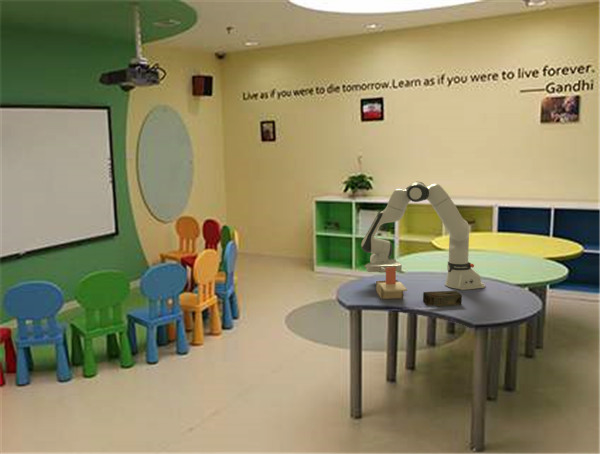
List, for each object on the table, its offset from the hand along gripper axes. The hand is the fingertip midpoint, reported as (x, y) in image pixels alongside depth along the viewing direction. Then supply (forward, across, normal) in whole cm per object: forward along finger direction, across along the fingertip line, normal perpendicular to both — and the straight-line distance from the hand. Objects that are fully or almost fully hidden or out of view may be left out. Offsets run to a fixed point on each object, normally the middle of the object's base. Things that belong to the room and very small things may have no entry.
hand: (386, 270), depth 316 cm
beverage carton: (+24, +24, +13) cm, 37 cm away
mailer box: (+7, 0, +13) cm, 15 cm away
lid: (+15, 0, +5) cm, 16 cm away
